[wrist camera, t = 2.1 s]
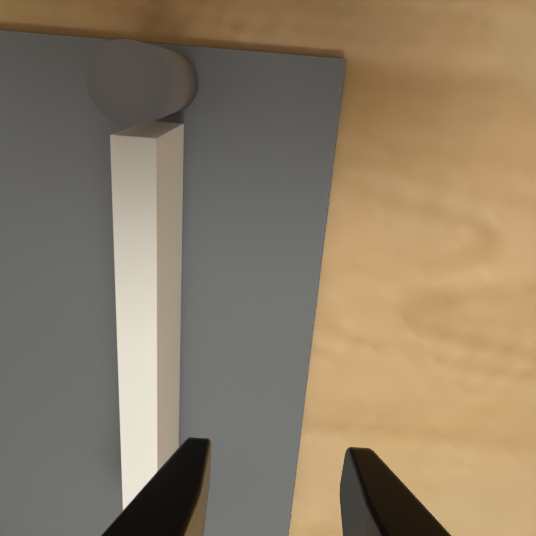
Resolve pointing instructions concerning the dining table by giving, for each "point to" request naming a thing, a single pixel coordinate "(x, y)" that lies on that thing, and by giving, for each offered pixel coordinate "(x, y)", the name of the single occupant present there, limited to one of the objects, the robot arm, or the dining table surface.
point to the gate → (147, 294)
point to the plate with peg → (192, 276)
